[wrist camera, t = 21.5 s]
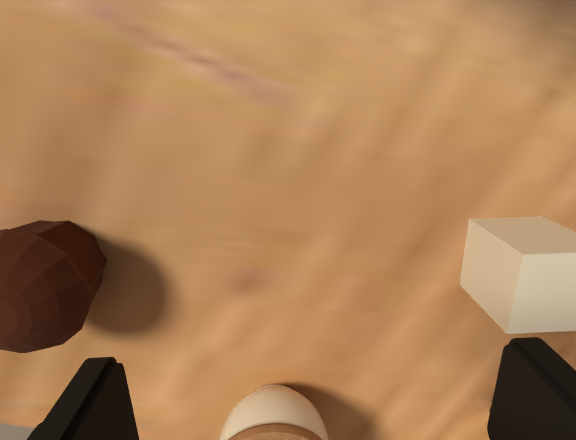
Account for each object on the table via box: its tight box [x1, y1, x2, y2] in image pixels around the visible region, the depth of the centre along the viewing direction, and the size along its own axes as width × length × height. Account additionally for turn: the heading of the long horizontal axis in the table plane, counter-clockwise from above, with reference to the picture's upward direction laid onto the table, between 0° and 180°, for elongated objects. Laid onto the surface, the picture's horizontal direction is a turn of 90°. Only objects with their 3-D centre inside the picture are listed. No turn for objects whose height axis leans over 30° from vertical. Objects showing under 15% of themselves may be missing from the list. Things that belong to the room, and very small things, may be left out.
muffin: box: [0, 220, 107, 353], centre depth 33 cm, size 12×11×10 cm
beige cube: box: [459, 216, 576, 334], centre depth 36 cm, size 8×8×9 cm
